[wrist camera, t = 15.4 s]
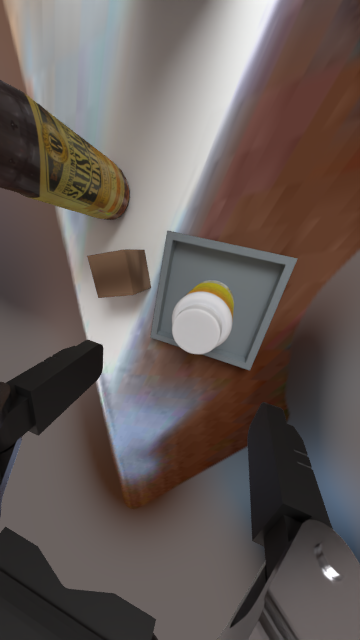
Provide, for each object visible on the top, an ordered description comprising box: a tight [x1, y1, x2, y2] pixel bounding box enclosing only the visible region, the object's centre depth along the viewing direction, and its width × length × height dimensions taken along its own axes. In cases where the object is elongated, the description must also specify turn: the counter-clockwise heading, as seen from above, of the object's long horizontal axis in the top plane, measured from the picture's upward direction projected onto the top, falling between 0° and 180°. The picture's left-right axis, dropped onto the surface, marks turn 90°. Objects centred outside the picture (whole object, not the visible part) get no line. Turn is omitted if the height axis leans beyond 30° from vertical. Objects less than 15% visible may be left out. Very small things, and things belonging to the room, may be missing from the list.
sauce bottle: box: [0, 80, 129, 220], centre depth 15 cm, size 6×6×20 cm
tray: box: [151, 231, 297, 370], centre depth 24 cm, size 14×14×2 cm
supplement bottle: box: [172, 280, 234, 354], centre depth 20 cm, size 6×6×10 cm
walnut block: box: [87, 250, 151, 298], centre depth 24 cm, size 5×5×5 cm
